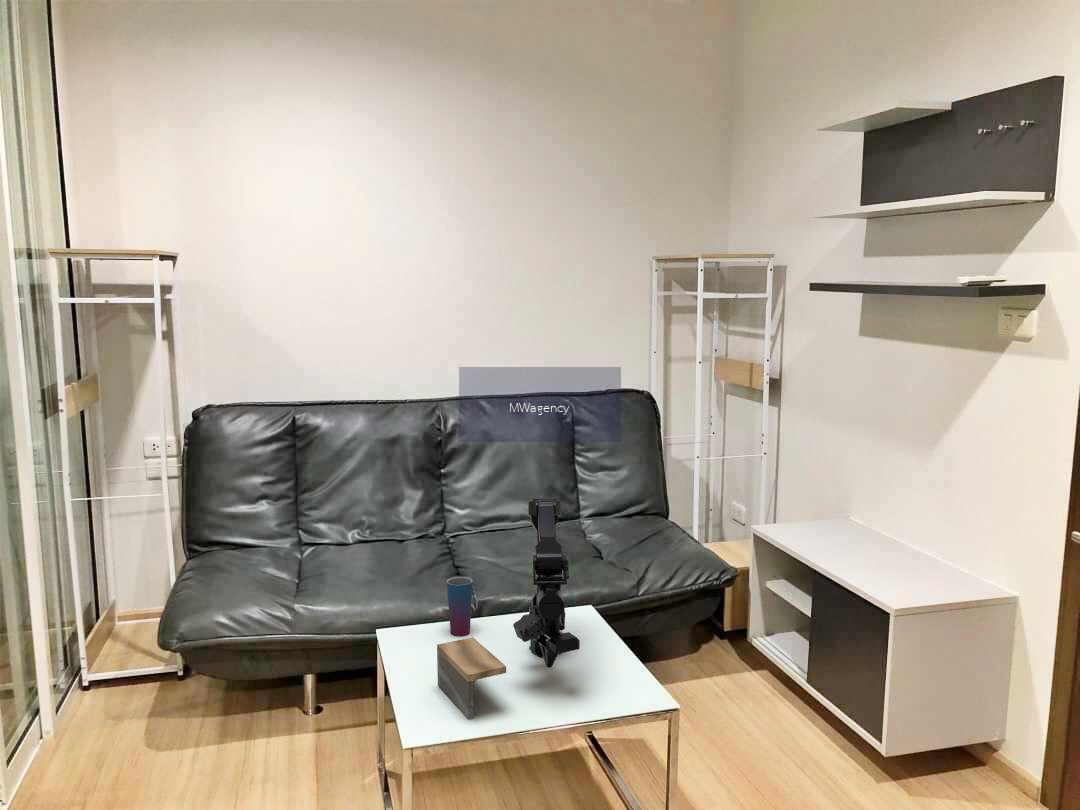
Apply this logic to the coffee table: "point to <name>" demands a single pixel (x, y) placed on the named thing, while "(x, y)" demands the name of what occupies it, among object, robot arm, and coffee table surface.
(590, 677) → the coffee table surface
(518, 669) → the coffee table surface
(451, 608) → the cup
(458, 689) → the block
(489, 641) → the coffee table surface
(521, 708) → the coffee table surface
